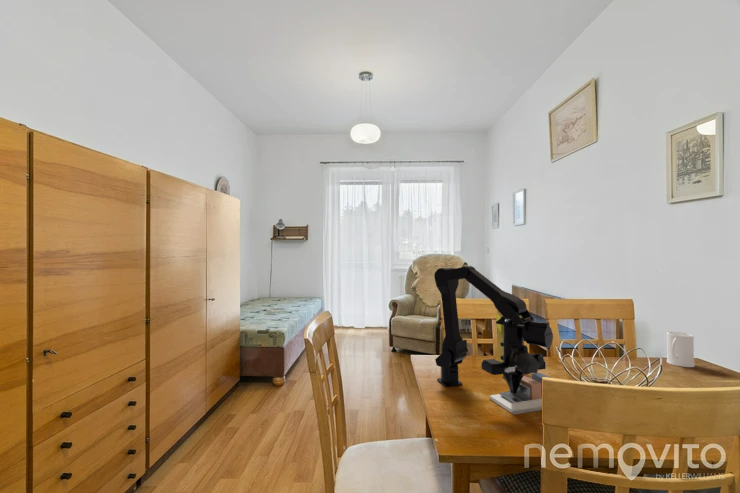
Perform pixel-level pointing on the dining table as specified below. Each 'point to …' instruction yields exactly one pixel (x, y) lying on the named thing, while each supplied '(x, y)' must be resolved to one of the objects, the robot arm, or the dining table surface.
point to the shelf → (524, 405)
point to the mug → (680, 349)
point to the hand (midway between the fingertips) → (513, 393)
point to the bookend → (518, 394)
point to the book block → (532, 387)
